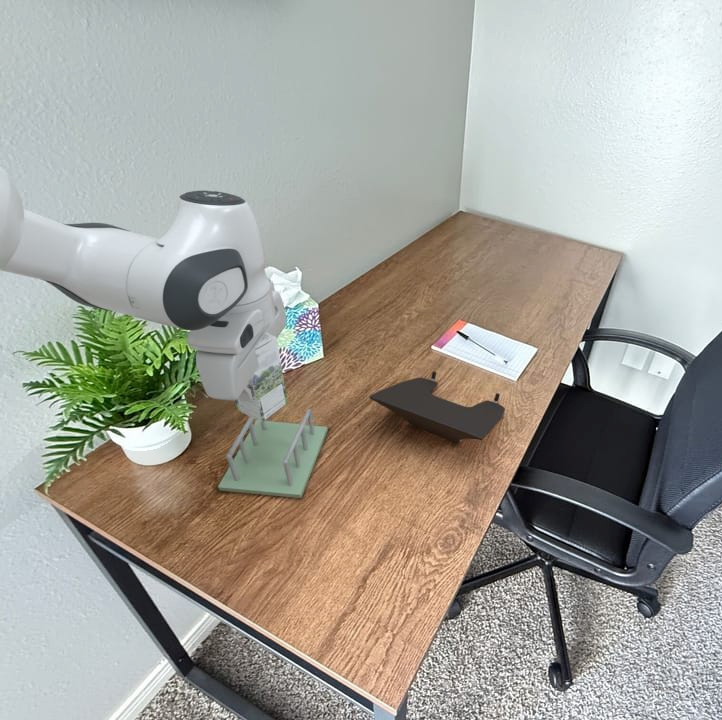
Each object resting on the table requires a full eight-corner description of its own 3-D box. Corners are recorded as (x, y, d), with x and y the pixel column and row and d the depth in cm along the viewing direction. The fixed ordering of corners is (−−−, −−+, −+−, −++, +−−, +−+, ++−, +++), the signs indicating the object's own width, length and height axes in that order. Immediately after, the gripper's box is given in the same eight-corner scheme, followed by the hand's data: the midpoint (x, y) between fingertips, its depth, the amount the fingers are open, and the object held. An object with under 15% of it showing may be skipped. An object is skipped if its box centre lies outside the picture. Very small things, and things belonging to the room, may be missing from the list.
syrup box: (264, 391, 81) (247, 322, 72) (290, 404, 79) (276, 335, 70) (236, 410, 77) (215, 339, 68) (263, 424, 75) (245, 354, 66)
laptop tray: (503, 436, 104) (514, 398, 102) (473, 474, 82) (486, 427, 80) (411, 402, 109) (421, 366, 108) (361, 430, 88) (371, 385, 86)
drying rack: (301, 498, 80) (295, 471, 75) (218, 490, 79) (207, 462, 75) (328, 430, 93) (324, 403, 88) (257, 423, 92) (249, 395, 87)
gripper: (249, 270, 73) (264, 340, 82) (178, 347, 57) (207, 424, 66) (289, 275, 74) (300, 344, 82) (230, 352, 58) (252, 429, 66)
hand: (258, 381), depth 74 cm, fingers closed on syrup box, 7 cm apart
